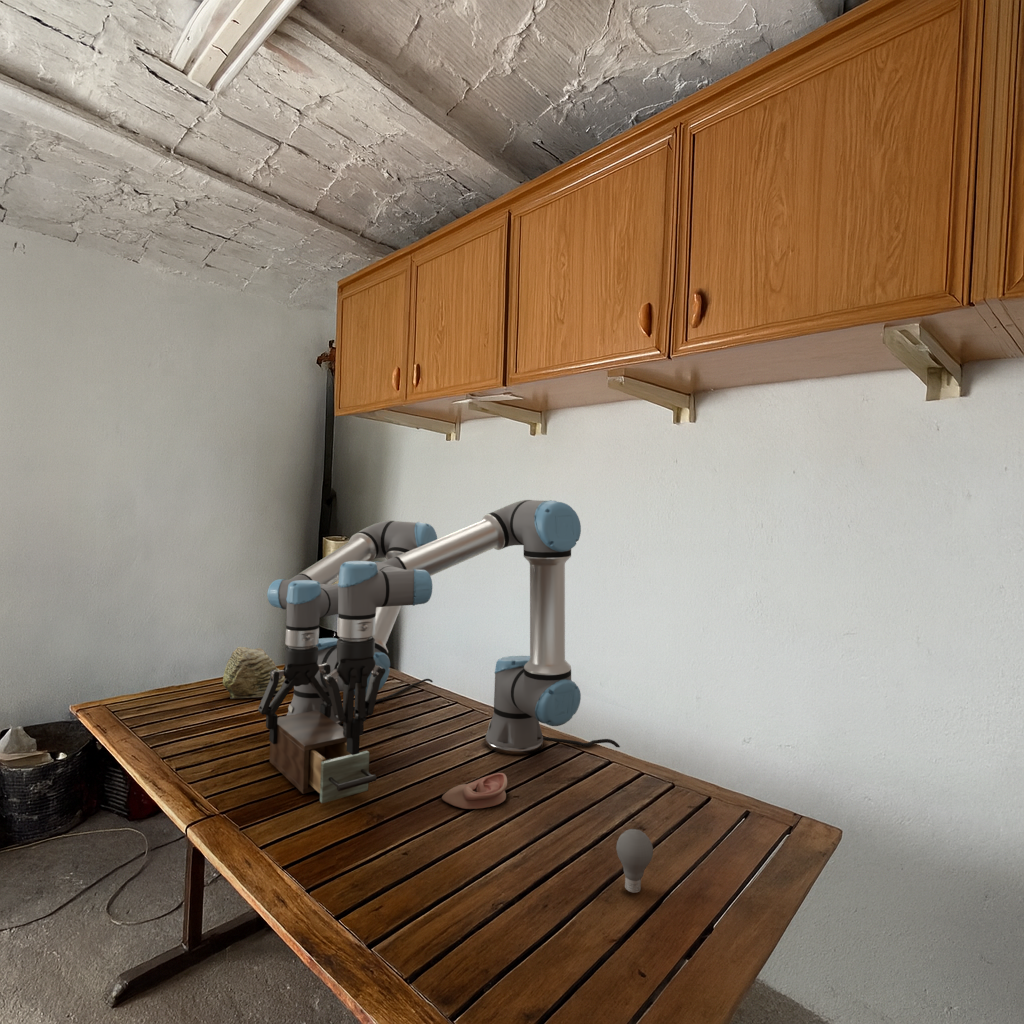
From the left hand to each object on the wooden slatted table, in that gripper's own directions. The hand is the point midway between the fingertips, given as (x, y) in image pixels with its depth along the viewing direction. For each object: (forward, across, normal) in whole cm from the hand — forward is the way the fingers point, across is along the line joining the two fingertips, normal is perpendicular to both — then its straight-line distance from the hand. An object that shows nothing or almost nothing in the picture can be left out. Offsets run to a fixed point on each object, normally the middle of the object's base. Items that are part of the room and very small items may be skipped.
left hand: (298, 736), depth 151 cm
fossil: (+5, +7, +55) cm, 55 cm away
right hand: (-6, 0, -28) cm, 29 cm away
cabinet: (+6, 0, -7) cm, 9 cm away
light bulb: (+6, +26, -81) cm, 85 cm away
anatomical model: (+6, +24, -39) cm, 46 cm away
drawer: (+4, 0, -19) cm, 20 cm away
